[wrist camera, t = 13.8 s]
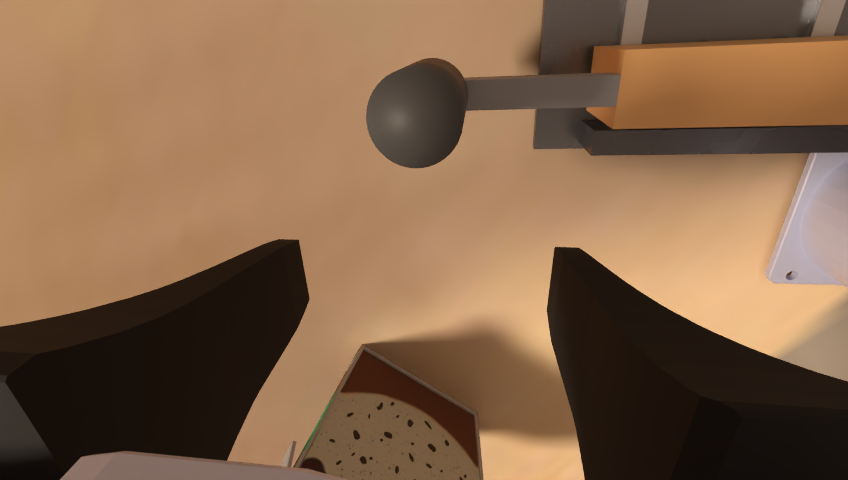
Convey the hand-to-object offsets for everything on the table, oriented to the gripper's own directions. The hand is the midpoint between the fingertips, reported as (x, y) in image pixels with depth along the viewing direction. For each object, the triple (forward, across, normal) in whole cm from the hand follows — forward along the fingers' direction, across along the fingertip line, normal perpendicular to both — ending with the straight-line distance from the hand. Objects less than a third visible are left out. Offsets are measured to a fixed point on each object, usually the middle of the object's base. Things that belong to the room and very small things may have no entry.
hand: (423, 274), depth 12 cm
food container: (+11, +4, +17) cm, 20 cm away
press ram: (+9, -7, -4) cm, 13 cm away
